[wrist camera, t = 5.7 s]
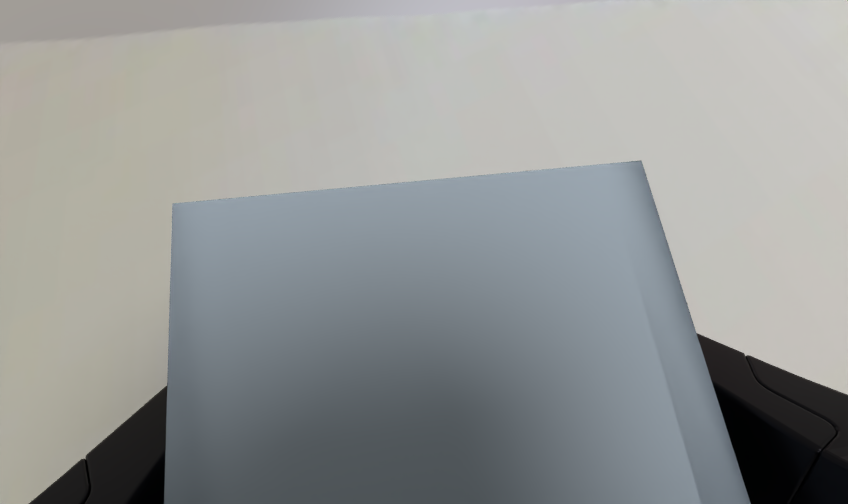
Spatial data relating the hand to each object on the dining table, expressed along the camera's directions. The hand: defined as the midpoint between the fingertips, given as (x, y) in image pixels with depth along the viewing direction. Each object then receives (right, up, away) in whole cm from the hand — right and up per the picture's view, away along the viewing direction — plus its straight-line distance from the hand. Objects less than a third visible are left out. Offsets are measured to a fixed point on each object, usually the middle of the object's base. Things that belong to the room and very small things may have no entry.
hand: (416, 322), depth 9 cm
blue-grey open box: (0, -3, +6) cm, 7 cm away
